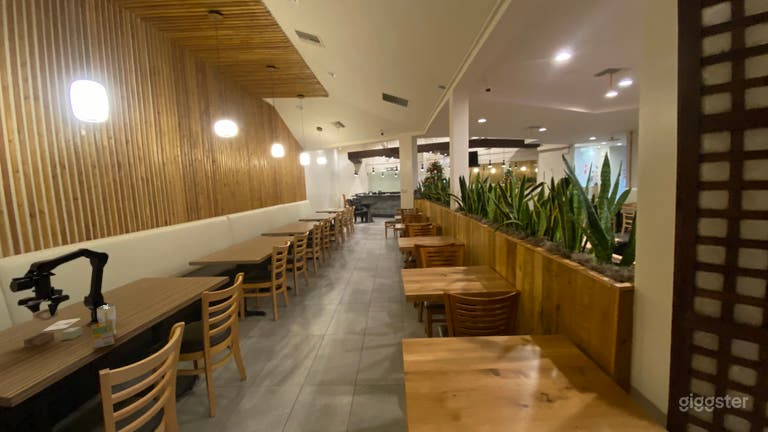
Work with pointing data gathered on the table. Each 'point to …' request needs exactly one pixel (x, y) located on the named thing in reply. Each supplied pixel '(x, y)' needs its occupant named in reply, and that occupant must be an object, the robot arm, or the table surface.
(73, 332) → the sage brick
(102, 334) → the crayon box
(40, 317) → the maple brick
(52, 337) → the walnut base brick
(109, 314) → the beer glass
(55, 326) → the page
